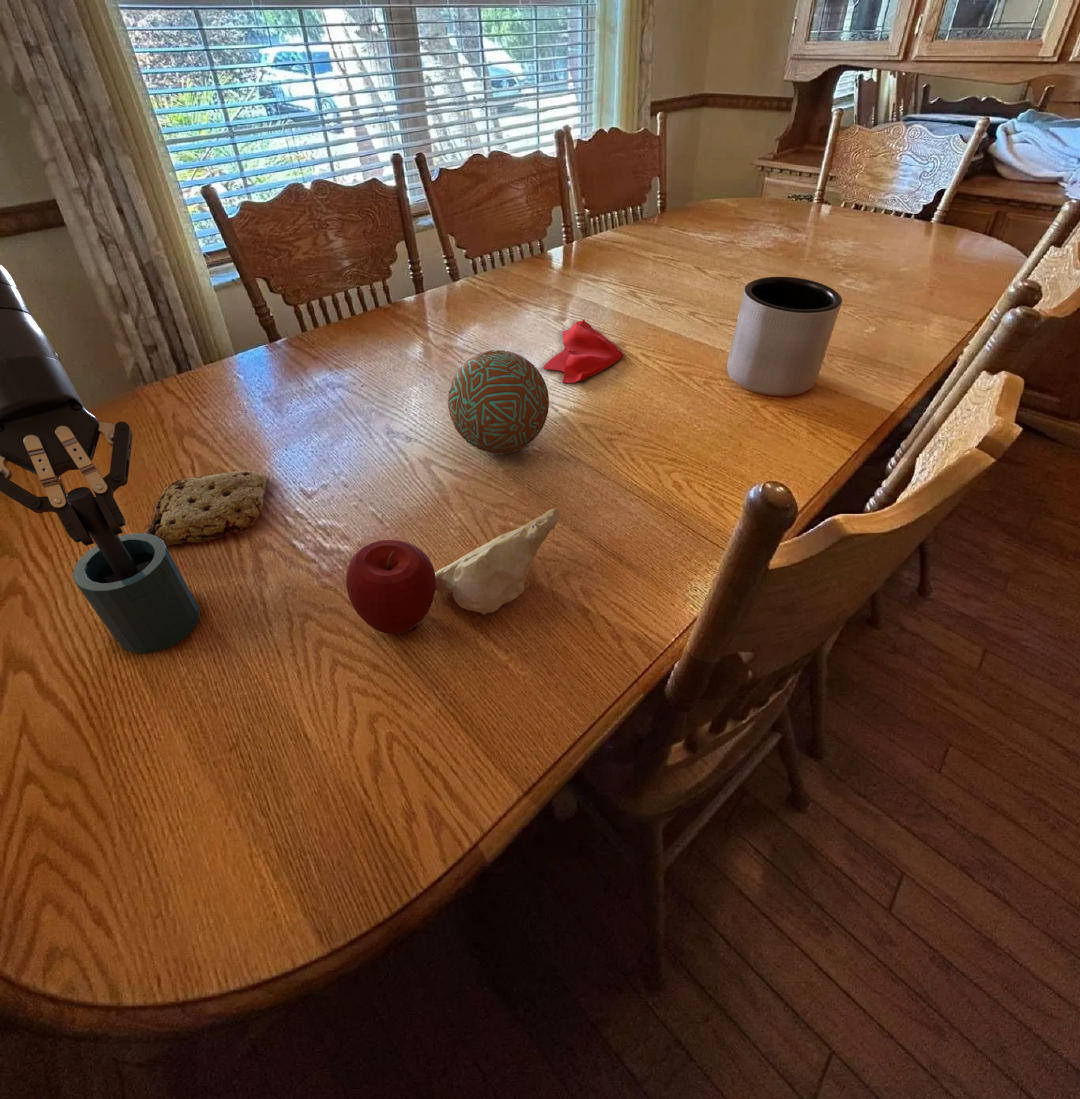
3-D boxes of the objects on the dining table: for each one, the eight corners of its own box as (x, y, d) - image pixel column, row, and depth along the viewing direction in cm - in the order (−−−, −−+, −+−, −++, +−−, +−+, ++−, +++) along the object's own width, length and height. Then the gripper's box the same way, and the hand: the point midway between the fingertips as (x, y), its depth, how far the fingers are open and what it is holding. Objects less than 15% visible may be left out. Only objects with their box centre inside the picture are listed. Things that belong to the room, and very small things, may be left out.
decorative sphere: (566, 438, 100) (569, 349, 90) (510, 485, 91) (507, 392, 81) (491, 410, 107) (487, 324, 96) (432, 452, 97) (420, 361, 87)
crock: (127, 666, 67) (81, 604, 61) (109, 618, 72) (65, 555, 66) (210, 628, 71) (175, 565, 65) (187, 585, 76) (153, 522, 69)
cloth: (608, 389, 112) (609, 378, 111) (534, 378, 115) (534, 367, 113) (633, 330, 130) (634, 319, 129) (569, 322, 133) (569, 311, 132)
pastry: (303, 500, 88) (297, 483, 86) (194, 572, 78) (185, 555, 76) (224, 460, 95) (218, 443, 93) (114, 522, 85) (104, 505, 83)
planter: (807, 361, 121) (833, 278, 110) (822, 403, 109) (853, 315, 98) (722, 355, 122) (739, 272, 112) (727, 396, 111) (748, 308, 100)
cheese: (437, 649, 72) (539, 606, 64) (403, 594, 71) (502, 544, 63) (497, 592, 85) (587, 551, 77) (468, 546, 84) (557, 499, 76)
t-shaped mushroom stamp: (117, 604, 66) (54, 510, 57) (110, 588, 68) (48, 494, 59) (162, 586, 68) (107, 492, 59) (154, 570, 70) (100, 477, 61)
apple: (406, 664, 68) (392, 601, 61) (339, 630, 71) (318, 567, 65) (457, 606, 74) (449, 544, 67) (392, 578, 77) (379, 515, 71)
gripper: (-95, 379, 53) (8, 564, 54) (88, 336, 59) (176, 502, 61) (-59, 408, 60) (31, 573, 61) (102, 367, 66) (181, 517, 67)
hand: (103, 537), depth 61 cm, fingers closed on t-shaped mushroom stamp, 2 cm apart
